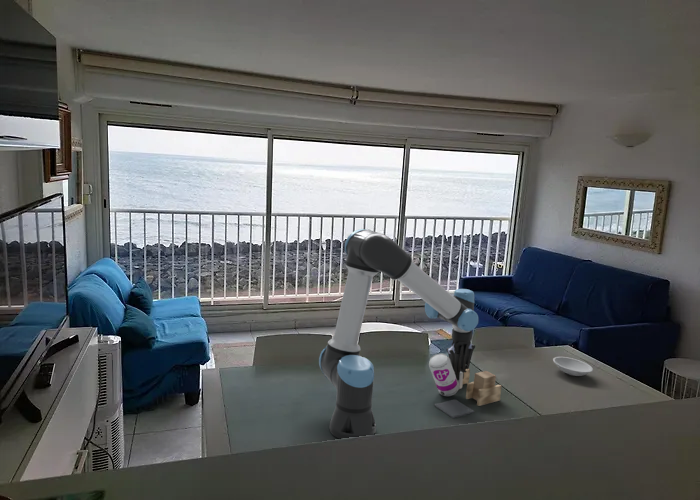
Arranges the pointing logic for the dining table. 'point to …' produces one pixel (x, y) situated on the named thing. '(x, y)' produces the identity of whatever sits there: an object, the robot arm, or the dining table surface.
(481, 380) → the rack
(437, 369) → the supplement can
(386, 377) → the dining table surface
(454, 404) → the mat
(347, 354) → the robot arm
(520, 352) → the dining table surface
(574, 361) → the dish
